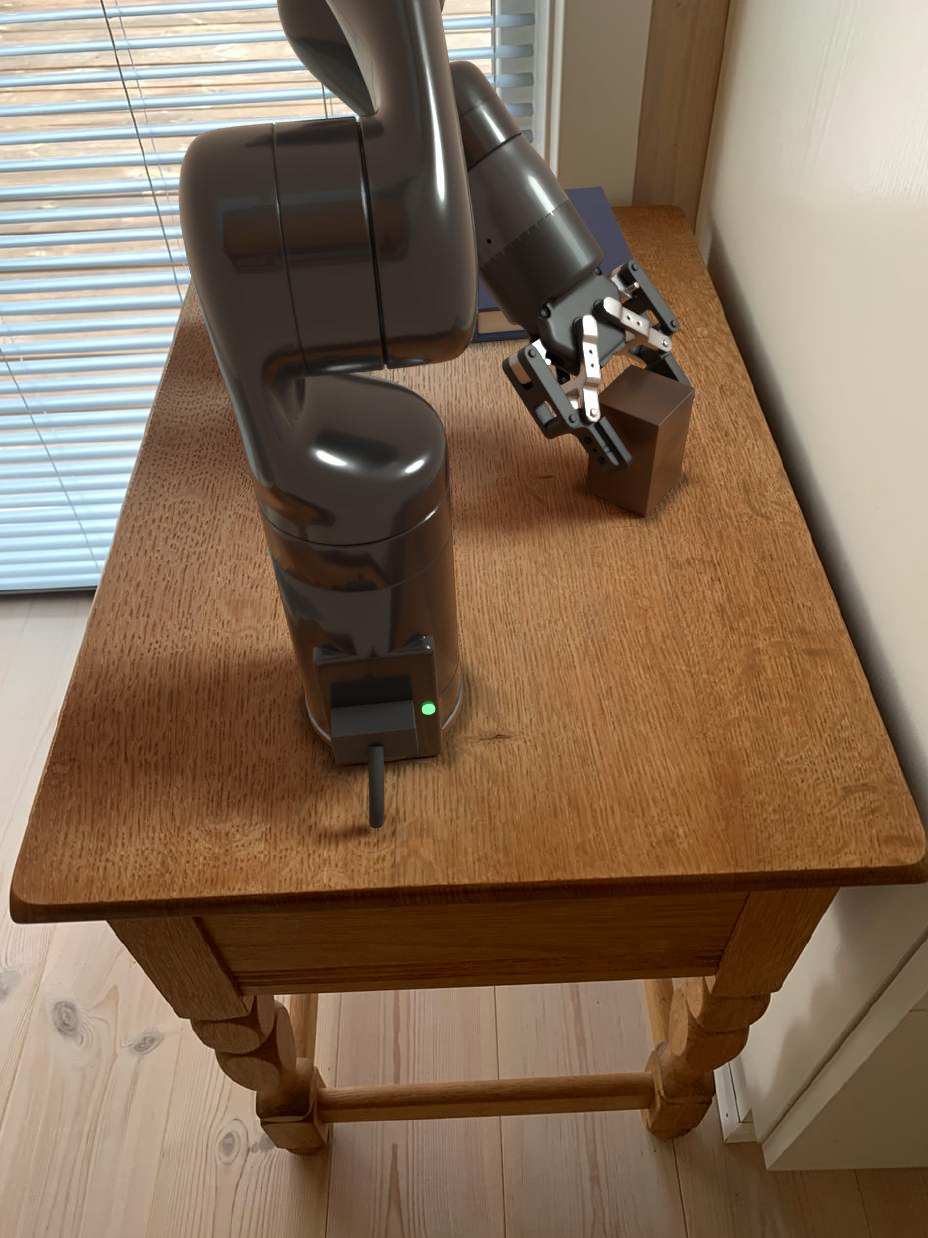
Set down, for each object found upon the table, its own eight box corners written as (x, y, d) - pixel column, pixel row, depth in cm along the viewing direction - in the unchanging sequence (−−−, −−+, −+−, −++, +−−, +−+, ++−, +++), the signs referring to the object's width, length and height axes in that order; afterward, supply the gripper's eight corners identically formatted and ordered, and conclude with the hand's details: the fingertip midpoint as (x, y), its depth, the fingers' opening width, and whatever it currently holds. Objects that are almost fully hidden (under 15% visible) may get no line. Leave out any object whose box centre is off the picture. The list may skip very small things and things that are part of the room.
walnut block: (645, 517, 69) (658, 425, 63) (585, 490, 71) (592, 399, 65) (679, 479, 72) (696, 387, 66) (620, 454, 74) (631, 363, 68)
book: (645, 327, 85) (649, 294, 83) (470, 342, 84) (469, 309, 82) (599, 217, 98) (601, 185, 96) (448, 230, 98) (446, 198, 95)
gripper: (487, 251, 57) (639, 477, 61) (614, 159, 64) (743, 366, 68) (421, 305, 63) (563, 508, 67) (544, 215, 71) (666, 402, 74)
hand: (653, 436), depth 68 cm, fingers open, 8 cm apart
